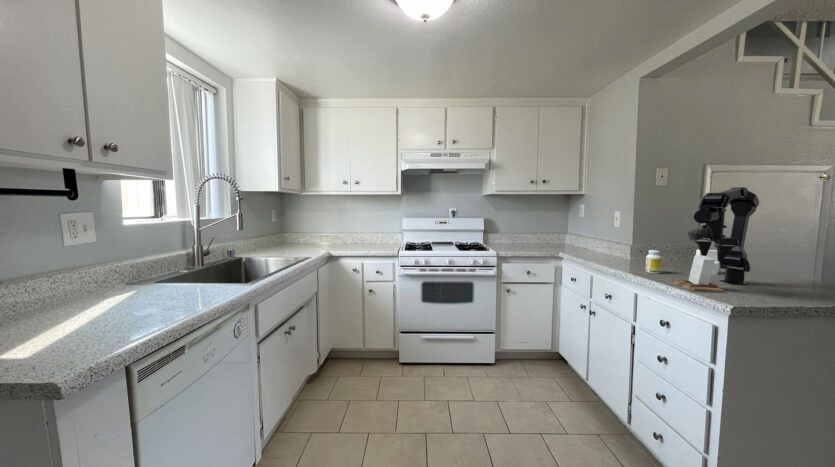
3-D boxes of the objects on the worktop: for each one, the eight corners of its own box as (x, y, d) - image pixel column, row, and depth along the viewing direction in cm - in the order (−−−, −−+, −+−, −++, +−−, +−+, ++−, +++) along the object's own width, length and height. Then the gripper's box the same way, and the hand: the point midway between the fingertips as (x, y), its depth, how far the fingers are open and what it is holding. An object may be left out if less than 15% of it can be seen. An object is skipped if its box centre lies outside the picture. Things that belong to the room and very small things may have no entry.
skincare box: (708, 286, 131) (715, 260, 128) (697, 286, 132) (704, 259, 128) (698, 281, 137) (705, 255, 134) (687, 280, 137) (694, 254, 134)
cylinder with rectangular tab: (701, 274, 160) (703, 251, 159) (690, 270, 168) (692, 248, 167) (722, 275, 158) (724, 251, 156) (710, 271, 166) (712, 249, 165)
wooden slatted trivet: (672, 283, 142) (672, 278, 142) (699, 284, 140) (700, 279, 140) (693, 291, 128) (694, 286, 128) (724, 292, 126) (725, 287, 126)
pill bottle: (663, 273, 161) (665, 251, 159) (651, 273, 161) (652, 251, 160) (654, 271, 167) (655, 249, 166) (642, 271, 167) (643, 249, 166)
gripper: (678, 221, 141) (676, 255, 142) (708, 224, 123) (704, 263, 124) (707, 221, 139) (704, 255, 140) (741, 224, 120) (737, 263, 122)
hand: (711, 259), depth 132 cm, fingers open, 9 cm apart
